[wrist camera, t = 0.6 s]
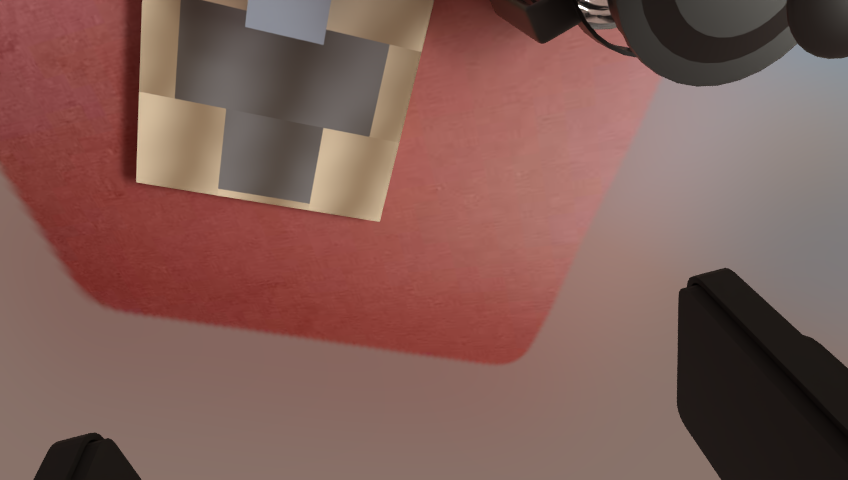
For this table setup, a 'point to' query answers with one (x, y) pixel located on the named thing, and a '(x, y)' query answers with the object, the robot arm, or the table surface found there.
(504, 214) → the table surface
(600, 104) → the table surface
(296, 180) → the board
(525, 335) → the table surface
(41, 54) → the table surface
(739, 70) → the french press
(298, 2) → the t block
